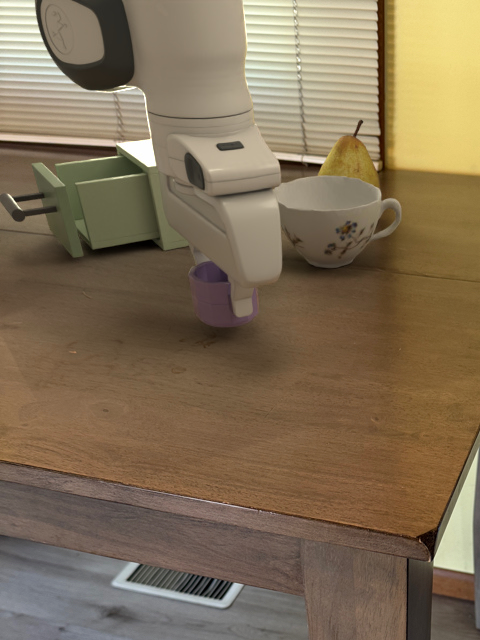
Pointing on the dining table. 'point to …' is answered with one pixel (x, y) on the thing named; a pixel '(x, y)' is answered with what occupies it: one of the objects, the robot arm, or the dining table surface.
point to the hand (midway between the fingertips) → (226, 299)
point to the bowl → (216, 296)
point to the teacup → (332, 217)
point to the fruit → (350, 160)
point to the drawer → (92, 203)
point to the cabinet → (153, 190)
